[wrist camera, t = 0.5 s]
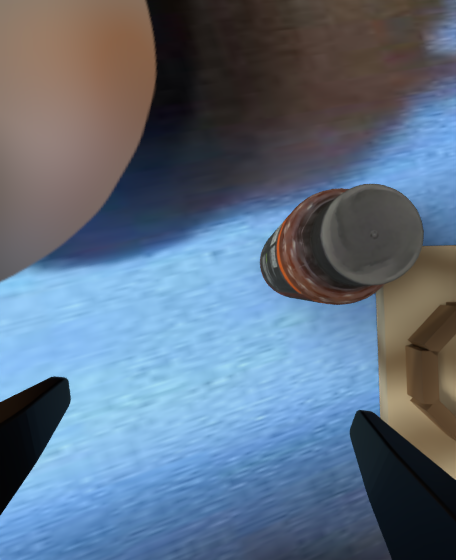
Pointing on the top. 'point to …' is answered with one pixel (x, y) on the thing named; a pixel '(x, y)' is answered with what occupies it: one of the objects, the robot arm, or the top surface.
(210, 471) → the top surface
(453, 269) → the holder board
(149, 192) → the top surface
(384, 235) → the supplement bottle
